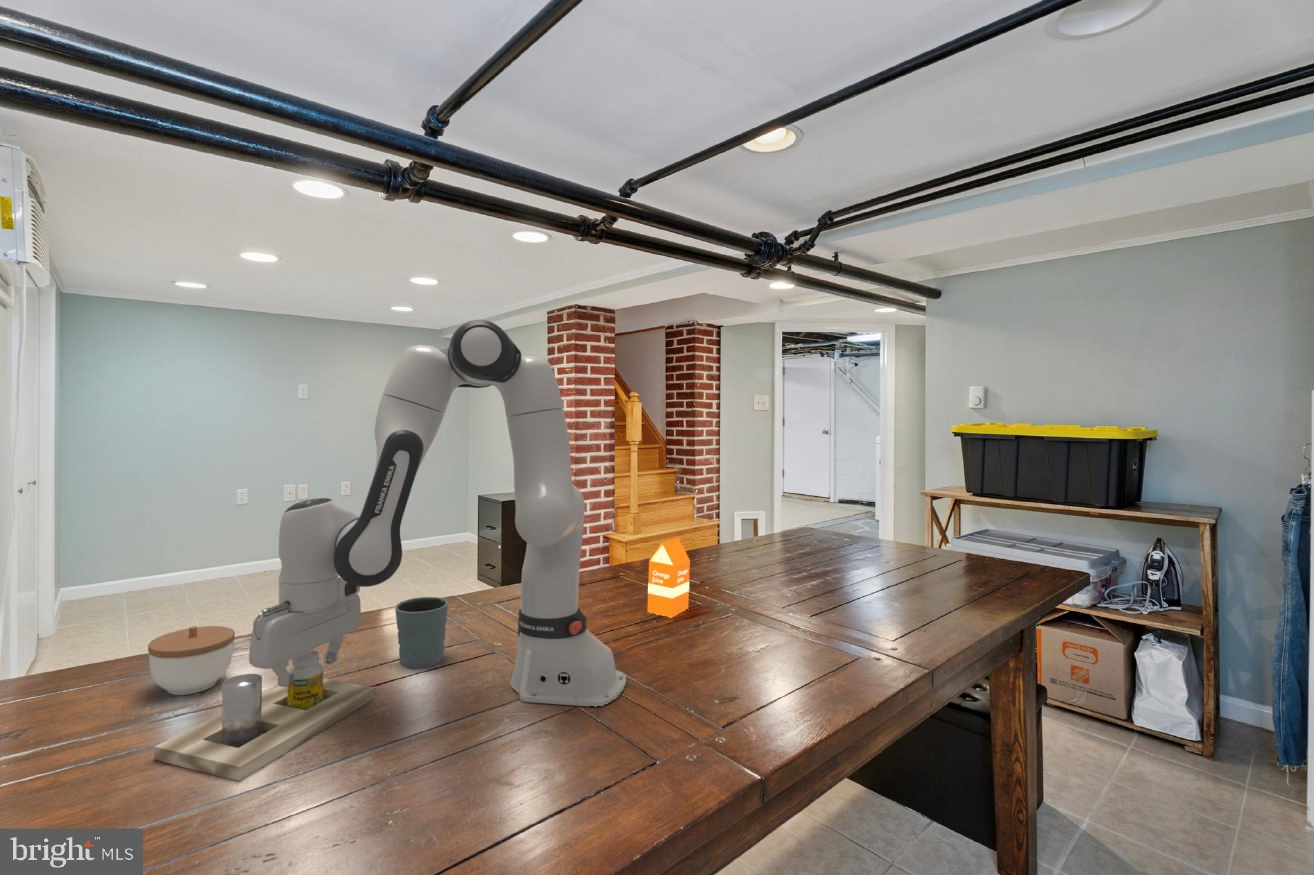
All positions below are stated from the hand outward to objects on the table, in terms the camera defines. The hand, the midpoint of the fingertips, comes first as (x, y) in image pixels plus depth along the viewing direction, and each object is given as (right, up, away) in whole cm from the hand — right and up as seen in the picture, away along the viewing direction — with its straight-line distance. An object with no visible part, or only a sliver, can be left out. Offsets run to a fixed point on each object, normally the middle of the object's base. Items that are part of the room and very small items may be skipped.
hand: (309, 673), depth 104 cm
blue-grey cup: (+11, -6, +22) cm, 25 cm away
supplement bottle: (-1, -7, 0) cm, 7 cm away
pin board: (-2, -7, -5) cm, 9 cm away
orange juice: (+63, -7, +58) cm, 85 cm away
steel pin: (-4, -7, -11) cm, 14 cm away
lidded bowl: (-26, -6, +7) cm, 27 cm away
